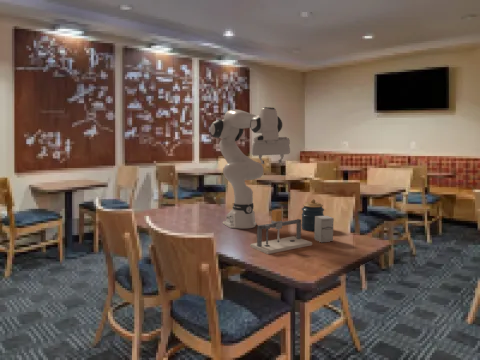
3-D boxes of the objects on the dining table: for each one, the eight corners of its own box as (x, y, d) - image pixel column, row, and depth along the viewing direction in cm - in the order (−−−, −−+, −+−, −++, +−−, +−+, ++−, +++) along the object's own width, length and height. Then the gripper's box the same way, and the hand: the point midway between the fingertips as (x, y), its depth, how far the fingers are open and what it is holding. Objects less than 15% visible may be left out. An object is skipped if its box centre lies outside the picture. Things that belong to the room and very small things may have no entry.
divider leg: (271, 241, 198) (271, 210, 196) (276, 240, 200) (277, 209, 198) (276, 243, 195) (276, 211, 193) (281, 241, 196) (282, 210, 195)
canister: (324, 231, 226) (325, 201, 224) (301, 231, 228) (301, 200, 226) (323, 226, 239) (323, 197, 237) (301, 225, 241) (301, 197, 239)
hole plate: (250, 247, 195) (250, 223, 194) (293, 238, 211) (294, 217, 209) (267, 254, 184) (267, 229, 182) (312, 245, 199) (312, 222, 198)
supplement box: (320, 242, 203) (320, 218, 202) (313, 239, 210) (314, 215, 209) (333, 241, 205) (334, 217, 204) (326, 238, 212) (327, 215, 211)
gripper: (287, 137, 215) (289, 162, 215) (250, 138, 212) (251, 164, 212) (290, 136, 208) (292, 162, 209) (252, 137, 206) (253, 164, 206)
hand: (271, 163), depth 210 cm, fingers open, 8 cm apart
